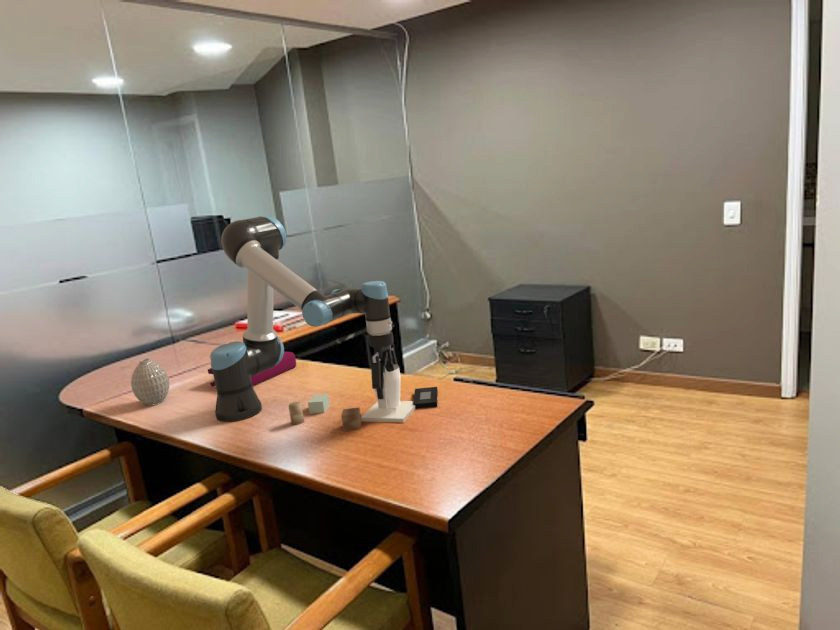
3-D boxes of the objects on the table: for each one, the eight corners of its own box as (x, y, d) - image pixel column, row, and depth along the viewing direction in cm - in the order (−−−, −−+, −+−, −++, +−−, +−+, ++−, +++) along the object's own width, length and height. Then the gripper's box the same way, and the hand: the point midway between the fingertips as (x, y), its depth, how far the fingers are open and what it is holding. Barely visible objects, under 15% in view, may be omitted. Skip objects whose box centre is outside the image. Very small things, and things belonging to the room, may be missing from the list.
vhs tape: (413, 410, 195) (412, 404, 195) (415, 394, 209) (414, 388, 209) (437, 408, 195) (436, 402, 194) (437, 392, 208) (437, 386, 208)
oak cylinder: (289, 424, 194) (285, 406, 193) (295, 419, 198) (292, 401, 196) (300, 425, 193) (297, 406, 191) (306, 419, 196) (303, 402, 195)
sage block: (309, 414, 202) (307, 402, 201) (315, 406, 208) (313, 394, 207) (324, 413, 201) (322, 401, 200) (329, 405, 208) (328, 393, 207)
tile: (361, 421, 190) (360, 417, 190) (378, 404, 203) (378, 400, 202) (403, 422, 185) (403, 418, 185) (418, 404, 198) (418, 401, 198)
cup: (400, 410, 188) (395, 372, 185) (371, 411, 190) (366, 373, 187) (406, 399, 197) (402, 363, 194) (379, 400, 199) (374, 364, 196)
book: (297, 368, 256) (294, 350, 254) (246, 391, 233) (242, 372, 231) (261, 365, 267) (258, 348, 265) (209, 387, 244) (205, 368, 243)
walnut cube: (343, 431, 184) (341, 415, 183) (345, 424, 189) (343, 409, 188) (360, 429, 184) (358, 413, 183) (361, 422, 189) (359, 407, 188)
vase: (130, 405, 231) (120, 362, 228) (163, 394, 240) (154, 352, 237) (144, 411, 222) (135, 367, 219) (178, 399, 231) (169, 356, 228)
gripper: (377, 342, 177) (387, 416, 182) (403, 322, 197) (411, 390, 202) (353, 342, 180) (364, 415, 185) (382, 323, 199) (390, 389, 204)
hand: (389, 402), depth 193 cm, fingers closed on cup, 9 cm apart
